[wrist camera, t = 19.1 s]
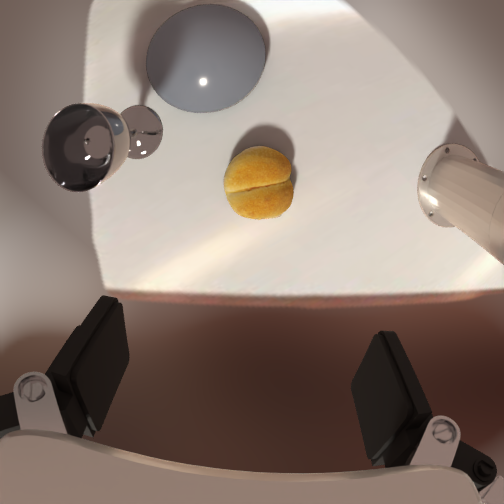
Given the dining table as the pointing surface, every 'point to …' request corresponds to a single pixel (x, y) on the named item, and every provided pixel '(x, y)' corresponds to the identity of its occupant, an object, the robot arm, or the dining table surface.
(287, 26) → the dining table surface
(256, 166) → the bread roll
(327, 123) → the dining table surface
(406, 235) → the dining table surface
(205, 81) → the plate
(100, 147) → the wine glass
